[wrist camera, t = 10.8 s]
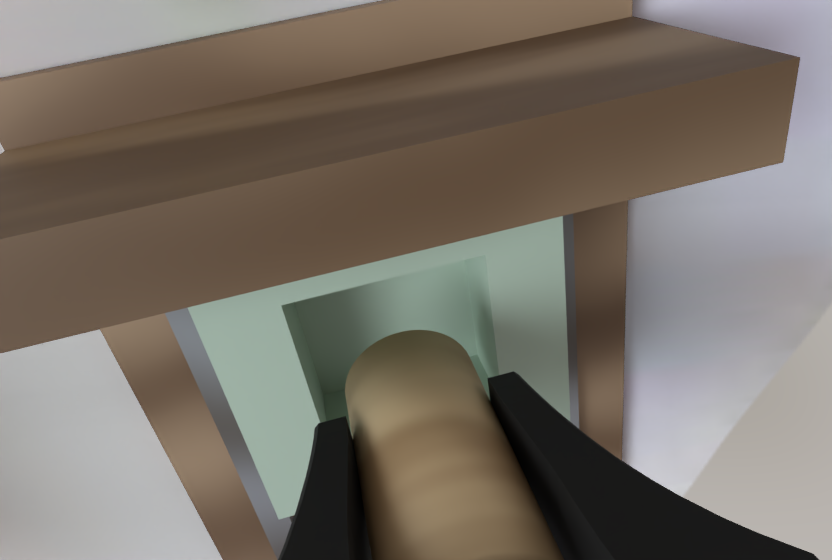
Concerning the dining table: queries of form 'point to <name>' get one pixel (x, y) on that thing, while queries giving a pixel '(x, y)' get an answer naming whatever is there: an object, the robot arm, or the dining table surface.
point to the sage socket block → (372, 321)
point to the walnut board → (353, 184)
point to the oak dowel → (437, 458)
